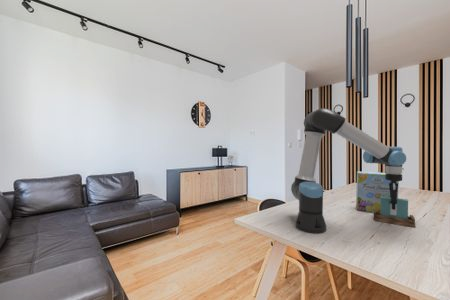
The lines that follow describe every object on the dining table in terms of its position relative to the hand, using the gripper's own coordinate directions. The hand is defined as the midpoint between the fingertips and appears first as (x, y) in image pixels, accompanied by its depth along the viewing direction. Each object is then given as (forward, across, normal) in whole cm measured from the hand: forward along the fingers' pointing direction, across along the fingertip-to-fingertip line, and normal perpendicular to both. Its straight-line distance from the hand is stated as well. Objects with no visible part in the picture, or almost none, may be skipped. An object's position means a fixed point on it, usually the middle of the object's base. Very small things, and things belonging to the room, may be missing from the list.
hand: (393, 213), depth 118 cm
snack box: (+5, +15, +8) cm, 18 cm away
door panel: (+3, 0, 0) cm, 3 cm away
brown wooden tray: (+4, 0, 0) cm, 4 cm away
